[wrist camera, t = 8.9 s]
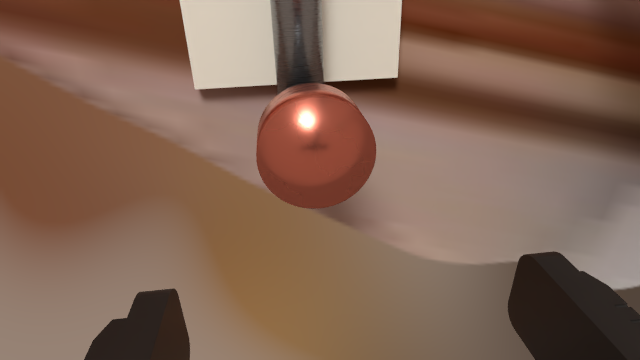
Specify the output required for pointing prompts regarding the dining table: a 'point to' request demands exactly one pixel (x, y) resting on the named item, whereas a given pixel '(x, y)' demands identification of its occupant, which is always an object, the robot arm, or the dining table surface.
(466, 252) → the dining table surface
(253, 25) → the cream l-shaped stand
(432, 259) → the dining table surface
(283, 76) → the ball knob lever
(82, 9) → the dining table surface
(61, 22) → the dining table surface
